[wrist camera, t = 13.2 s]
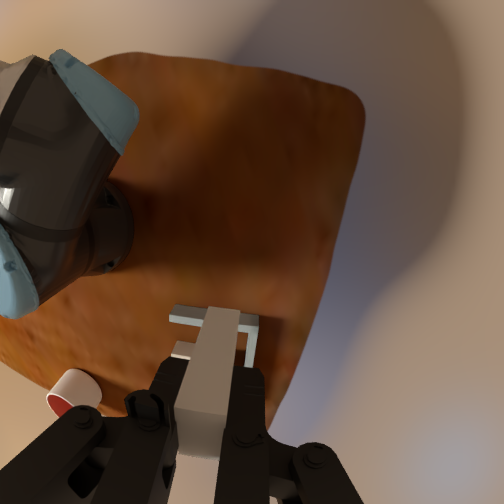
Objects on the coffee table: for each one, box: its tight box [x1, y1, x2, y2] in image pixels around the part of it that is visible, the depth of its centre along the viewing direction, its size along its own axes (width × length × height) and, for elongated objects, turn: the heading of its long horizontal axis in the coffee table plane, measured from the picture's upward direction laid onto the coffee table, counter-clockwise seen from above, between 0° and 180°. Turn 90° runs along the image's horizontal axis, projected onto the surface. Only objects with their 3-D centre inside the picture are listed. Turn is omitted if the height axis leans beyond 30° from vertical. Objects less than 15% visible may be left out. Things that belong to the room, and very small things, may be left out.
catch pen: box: [169, 304, 259, 368], centre depth 43 cm, size 13×18×4 cm
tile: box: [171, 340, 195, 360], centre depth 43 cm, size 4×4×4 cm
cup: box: [47, 369, 102, 418], centre depth 44 cm, size 10×10×10 cm
